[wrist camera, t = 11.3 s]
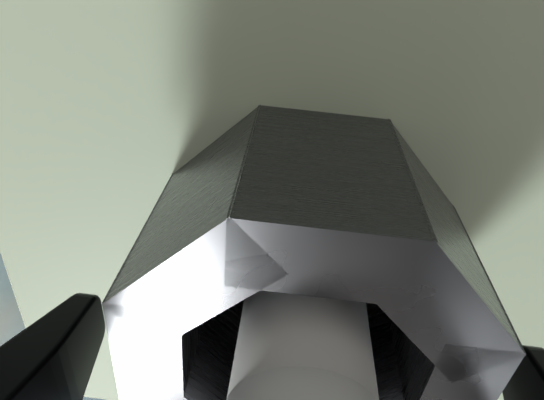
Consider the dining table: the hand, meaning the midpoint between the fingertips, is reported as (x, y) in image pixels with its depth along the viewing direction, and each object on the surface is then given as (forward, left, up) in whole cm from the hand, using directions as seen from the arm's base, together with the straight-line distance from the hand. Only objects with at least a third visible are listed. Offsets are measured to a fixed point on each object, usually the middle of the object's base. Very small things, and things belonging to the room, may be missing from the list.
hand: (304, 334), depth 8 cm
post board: (0, 0, -4) cm, 4 cm away
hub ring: (0, 0, -3) cm, 3 cm away
